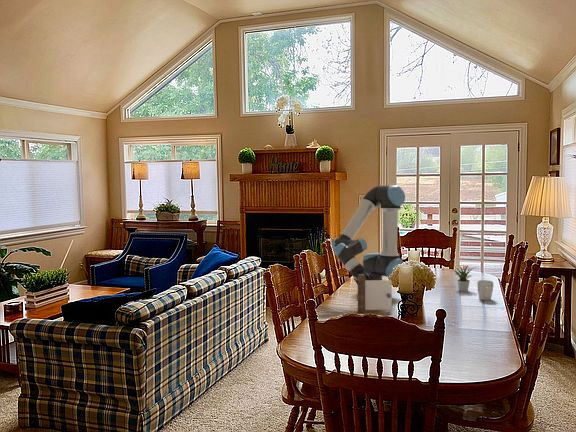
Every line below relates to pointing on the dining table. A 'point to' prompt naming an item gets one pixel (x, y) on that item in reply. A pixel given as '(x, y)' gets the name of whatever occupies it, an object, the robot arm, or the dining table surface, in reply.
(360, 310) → the door post
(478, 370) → the dining table surface
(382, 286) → the door
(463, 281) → the house plant
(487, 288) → the mug
